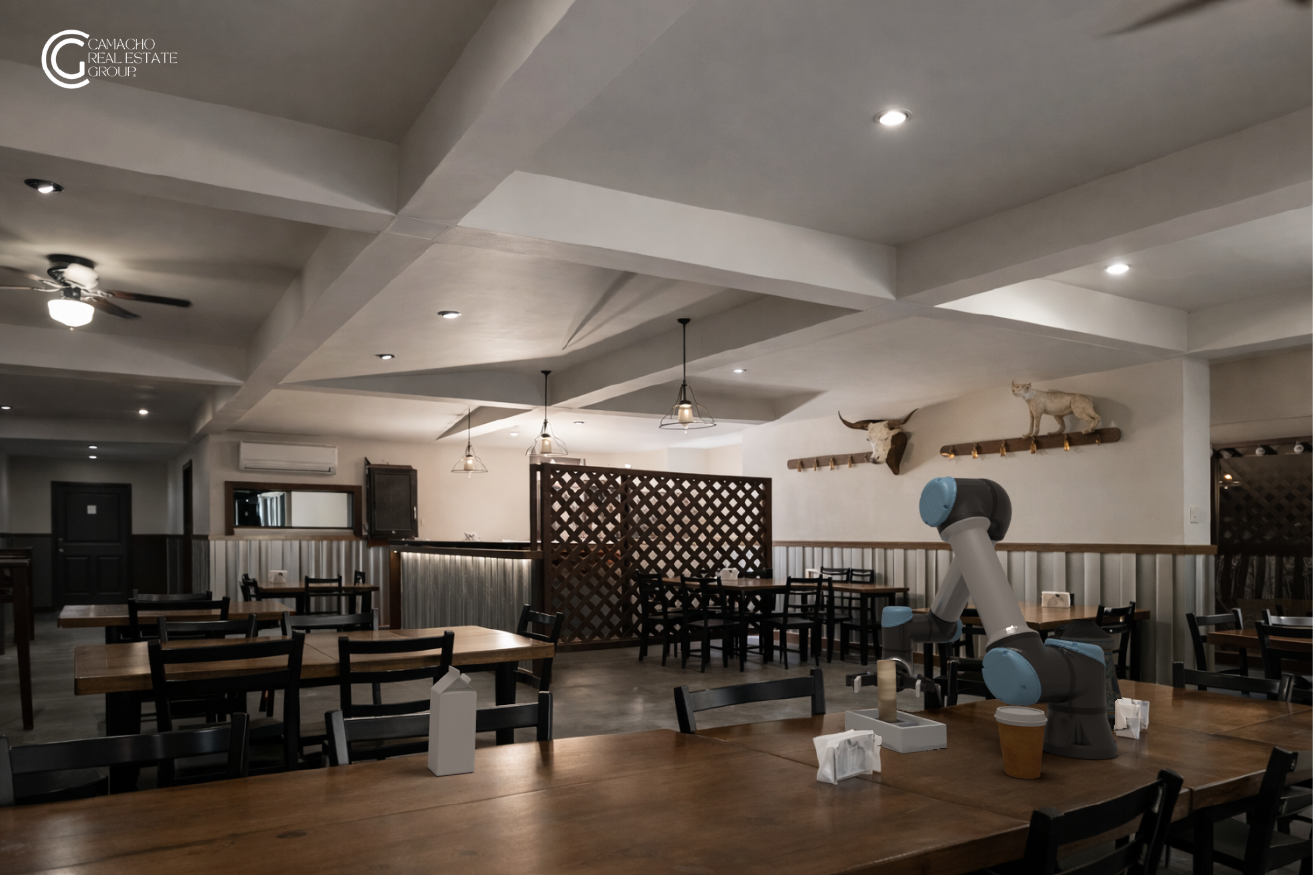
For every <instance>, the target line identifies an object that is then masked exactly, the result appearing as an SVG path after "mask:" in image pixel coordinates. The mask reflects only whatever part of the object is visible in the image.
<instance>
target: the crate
mask: <svg viewBox="0 0 1313 875" xmlns="http://www.w3.org/2000/svg"><path fill="white" fill-rule="evenodd" d="M851 729H856V730H873V731H874V733H875V734H876V735H878V736H881V737H882V746H881V747H883V748H886V749H887V750H888V749H889V750H892V751H894V752H896V753H899V754H908V753H914V752H915V753H916V752H927V750H928V751H934V750H933V749H937V750H941V749H940V748H947V747H948V744H947V740H948V739H947V734H948V733H947V724H945V723H942V722H939V721H934V720H932V719H928V718H926V717H925V718H924V717H921V716H918V715H914V714H911V713H907V712H904V711H901V710H897V723H886V722H883V721H880V720H879V715H878V708H868V709H865V708H864V709H856V710H854V709H852V710H845V711H844V732H845V731H847V730H851Z"/></svg>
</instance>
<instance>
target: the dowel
mask: <svg viewBox="0 0 1313 875" xmlns="http://www.w3.org/2000/svg"><path fill="white" fill-rule="evenodd" d="M876 668H877V670H876V672H877V677H878V687H877V707H878V715H879V720H880V721H883V722H886V723H897V711H898V710H897V705H898V704H897V693H896V667H895V661H892V660H882V659H881V660H880V659H879V660H877V661H876Z"/></svg>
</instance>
